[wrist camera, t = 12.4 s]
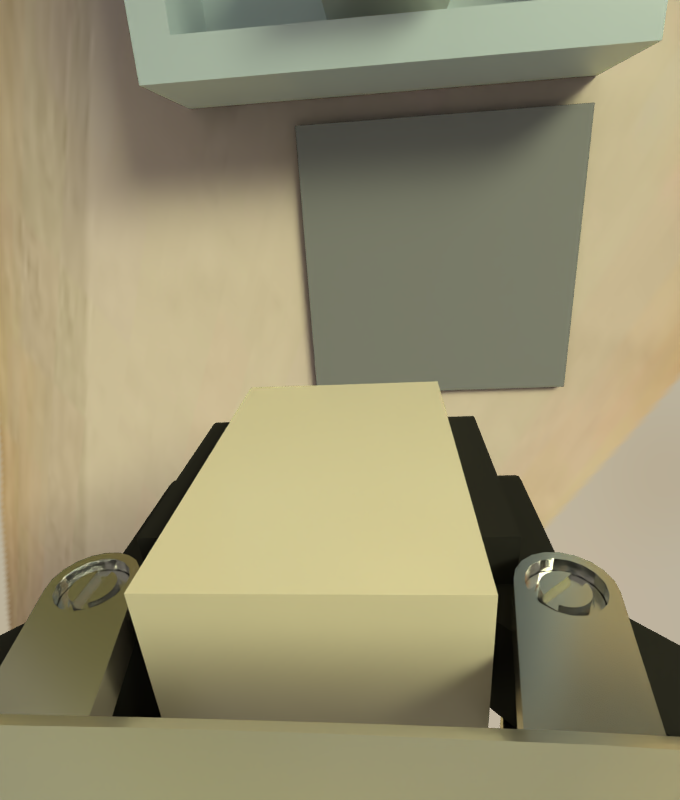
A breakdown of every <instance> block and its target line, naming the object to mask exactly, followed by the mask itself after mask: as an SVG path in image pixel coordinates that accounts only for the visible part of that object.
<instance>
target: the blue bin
mask: <svg viewBox="0 0 680 800" xmlns="http://www.w3.org/2000/svg"><path fill="white" fill-rule="evenodd" d="M124 3H125V9H126V14H127V20H128V26H129V31H130V37H131V42H132V48H133V54H134V59H135V65H136V70H137V76H138V82H139V86H141V87H143V88H146V89H148V90H150V91H152V92H154V93H156V94H158V95H161V96H163V97H165V98H167V99H169V100H171V101H174V102H176V103H178V104H180V105H182V106H184V107H186V108H189V109H195V108H207V107H219V106H231V105H243V104H255V103H268V102H280V101H292V100H304V99H316V98H328V97H340V96H353V95H365V94H377V93H389V92H401V91H413V90H425V89H438V88H450V87H462V86H474V85H486V84H498V83H510V82H523V81H535V80H547V79H559V78H571V77H583V76H596V75H599V74H601V73H603V72H604V71H606V70H608V69H610V68H612V67H614V66H615V65H617V64H619V63H621V62H623V61H625V60H626V59H628V58H630V57H632V56H634V55H636V54H637V53H639V52H641V51H643V50H645V49H647V48H648V47H650V46H652V45H654V44H656V43H658V42H659V41H661V40H662V37H663V30H664V23H665V16H666V10H667V3H668V0H450V2H449V4H448V7H447V9H438V10H428V11H417V12H407V13H396V14H386V15H375V16H365V17H354V18H344V19H333V20H327V18H326V15H325V11H324V8H323V4H322V0H124Z"/></svg>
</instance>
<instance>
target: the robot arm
mask: <svg viewBox="0 0 680 800" xmlns="http://www.w3.org/2000/svg"><path fill="white" fill-rule="evenodd" d="M448 420H449V424H450V427H451V431H452V434H453V438H454V441H455V445H456V448H457V452H458V455H459V459H460V462H461V466H462V469H463V473H464V477H465V480H466V484H467V487H468V491H469V494H470V498H471V501H472V505H473V508H474V512H475V515H476V519H477V523H478V526H479V530H480V533H481V537H482V540H483V544H484V547H485V551H486V554H487V558H488V561H489V565H490V568H491V572H492V576H493V579H494V583H495V586H496V590H497V593H498V603H497V617H496V630H495V643H494V656H493V669H492V683H491V696H490V708H491V709H492V710H493V711H495V712H496V713H497V714H498V715H500V716H501V720H500V728H473V727H445V726H417V725H389V724H358V723H325V722H293V721H259V720H224V719H189V718H162V717H161V714H160V711H159V708H158V704H157V701H156V698H155V694H154V691H153V688H152V684H151V681H150V678H149V675H148V671H147V668H146V665H145V661H144V658H143V655H142V651H141V648H140V645H139V642H138V638H137V635H136V632H135V628H134V625H133V622H132V618H131V615H130V612H129V609H128V605H127V602H126V599H125V595H124V593H125V591H126V589H127V588H128V586H129V585H130V583H131V581H132V580H133V578H134V576H135V575H136V573H137V572H138V570H139V568H140V567H141V565H142V564H143V562H144V560H145V559H146V557H147V555H148V554H149V552H150V551H151V549H152V547H153V546H154V544H155V543H156V541H157V539H158V538H159V536H160V534H161V533H162V531H163V530H164V528H165V526H166V525H167V523H168V522H169V520H170V518H171V517H172V515H173V513H174V512H175V510H176V509H177V507H178V505H179V504H180V502H181V501H182V499H183V497H184V496H185V494H186V492H187V491H188V489H189V488H190V486H191V484H192V483H193V481H194V480H195V478H196V476H197V475H198V473H199V471H200V470H201V468H202V467H203V465H204V463H205V462H206V460H207V459H208V457H209V455H210V454H211V452H212V450H213V449H214V447H215V446H216V444H217V442H218V441H219V439H220V437H221V436H222V434H223V433H224V431H225V429H226V428H227V426H228V425H229V423H230V422H226V423H215V424H214V425H213V427H212V428H211V429H210V431H209V432H208V434H207V435H206V437H205V438H204V440H203V441H202V443H201V444H200V446H199V447H198V449H197V450H196V452H195V453H194V455H193V456H192V458H191V459H190V460H189V462H188V463H187V465H186V466H185V468H184V469H183V471H182V472H181V474H180V475H179V477H178V478H177V480H176V481H174V482H173V483H172V484H171V485H170V486H169V487H168V489H167V490H166V492H165V493H164V495H163V496H162V498H161V499H160V500H159V502H158V503H157V505H156V506H155V508H154V509H153V511H152V512H151V514H150V515H149V516H148V518H147V519H146V521H145V522H144V524H143V525H142V527H141V528H140V530H139V531H138V532H137V534H136V535H135V537H134V538H133V540H132V541H131V543H130V544H129V546H128V547H127V549H126V550H125V551H124V553H123V554H122V553H104V554H99V555H94V556H91V557H88V558H86V559H83V560H80V561H78V562H76V563H74V564H73V565H71V566H69V567H67V568H66V569H64V570H63V571H62V572H60V573H59V574H58V575H57V576H56V577H54V578H53V579H52V581H51V582H50V583H49V584H48V586H47V587H46V588H45V590H44V591H43V593H42V595H41V597H40V598H39V600H38V602H37V604H36V605H35V607H34V609H33V610H32V612H31V614H30V616H29V617H28V619H27V621H26V623H24V624H22V625H20V626H18V627H16V628H14V629H12V630H10V631H8V632H6V633H4V634H2V635H0V800H680V645H678V644H676V643H674V642H672V641H670V640H668V639H667V638H665V637H663V636H661V635H659V634H657V633H656V632H654V631H652V630H650V629H648V628H646V627H644V626H642V625H641V624H639V623H637V622H635V621H633V620H631V619H630V618H629V617H628V613H627V611H626V607H625V604H624V601H623V598H622V595H621V592H620V590H619V588H618V586H617V584H616V583H615V581H614V580H613V579H612V578H611V577H610V576H609V575H608V574H607V573H606V572H605V571H604V570H603V569H601V568H599V567H598V566H596V565H595V564H593V563H592V562H590V561H587V560H585V559H582V558H579V557H577V556H574V555H569V554H564V553H559V552H554V550H553V548H552V545H551V544H550V541H549V539H548V537H547V535H546V532H545V530H544V528H543V526H542V524H541V522H540V520H539V517H538V515H537V513H536V511H535V509H534V507H533V505H532V502H531V500H530V498H529V496H528V494H527V492H526V490H525V487H524V485H523V483H522V481H521V479H520V478H519V476H516V475H505V476H497V474H496V471H495V469H494V466H493V464H492V461H491V458H490V456H489V453H488V451H487V448H486V446H485V443H484V441H483V438H482V436H481V433H480V430H479V428H478V425H477V423H476V420H475V418H474V416H463V417H448Z"/></svg>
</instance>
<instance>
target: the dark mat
mask: <svg viewBox="0 0 680 800" xmlns="http://www.w3.org/2000/svg"><path fill="white" fill-rule="evenodd" d="M594 104H595V103H583V104H570V105H558V106H545V107H532V108H519V109H506V110H493V111H481V112H468V113H455V114H442V115H429V116H417V117H404V118H391V119H378V120H365V121H352V122H340V123H327V124H314V125H301V126H295V129H296V141H297V154H298V166H299V178H300V190H301V202H302V214H303V226H304V238H305V250H306V262H307V275H308V287H309V299H310V311H311V323H312V335H313V347H314V359H315V371H316V383H317V385H345V384H375V383H404V382H434V381H438V385H439V388H440V391H442V390H473V389H504V388H535V387H564V380H565V371H566V361H567V352H568V343H569V334H570V325H571V315H572V306H573V297H574V288H575V279H576V269H577V260H578V251H579V242H580V233H581V224H582V214H583V205H584V196H585V187H586V178H587V168H588V159H589V150H590V141H591V132H592V123H593V113H594Z"/></svg>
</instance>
